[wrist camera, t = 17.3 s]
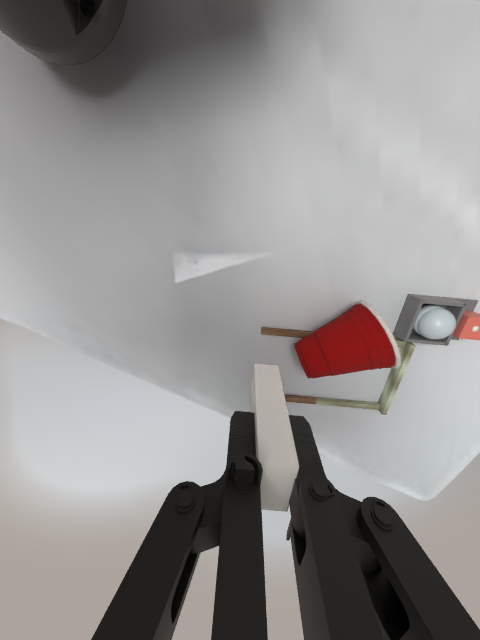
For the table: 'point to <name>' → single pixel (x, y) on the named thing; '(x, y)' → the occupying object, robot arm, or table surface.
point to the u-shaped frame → (382, 405)
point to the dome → (434, 322)
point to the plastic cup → (349, 344)
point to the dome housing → (462, 309)
